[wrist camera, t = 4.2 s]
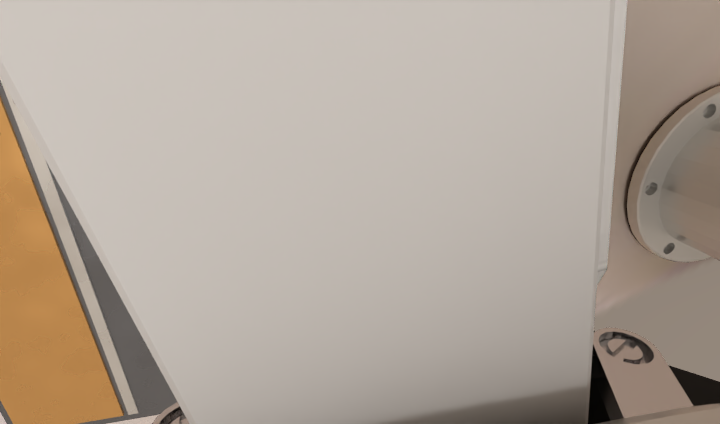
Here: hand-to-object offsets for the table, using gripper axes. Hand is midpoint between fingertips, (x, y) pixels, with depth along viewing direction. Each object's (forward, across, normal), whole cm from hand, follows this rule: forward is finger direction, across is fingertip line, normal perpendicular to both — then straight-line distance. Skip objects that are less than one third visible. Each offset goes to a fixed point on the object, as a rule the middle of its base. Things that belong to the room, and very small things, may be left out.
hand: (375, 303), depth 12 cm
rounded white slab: (+12, 0, 0) cm, 12 cm away
